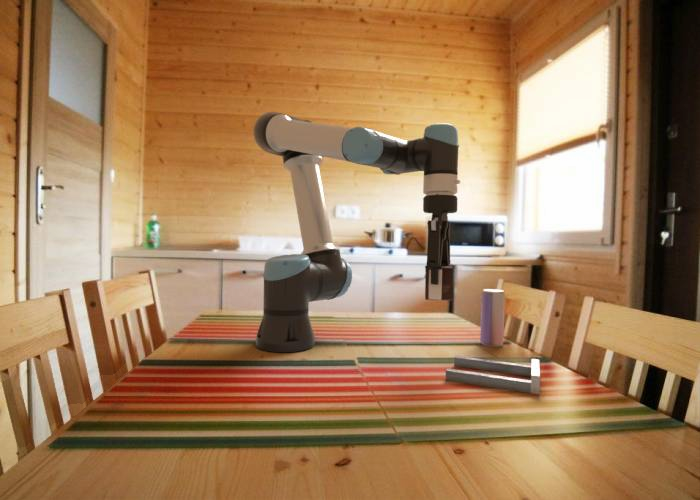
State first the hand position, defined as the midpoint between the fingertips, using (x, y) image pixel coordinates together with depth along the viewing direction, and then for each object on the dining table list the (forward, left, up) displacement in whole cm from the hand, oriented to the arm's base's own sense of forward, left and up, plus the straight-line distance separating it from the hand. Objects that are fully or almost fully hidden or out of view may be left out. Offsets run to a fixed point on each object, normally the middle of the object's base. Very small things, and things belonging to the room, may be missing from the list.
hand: (438, 297), depth 96 cm
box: (0, 0, -1) cm, 1 cm away
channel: (+12, -3, -16) cm, 20 cm away
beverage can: (+10, +26, -16) cm, 32 cm away
